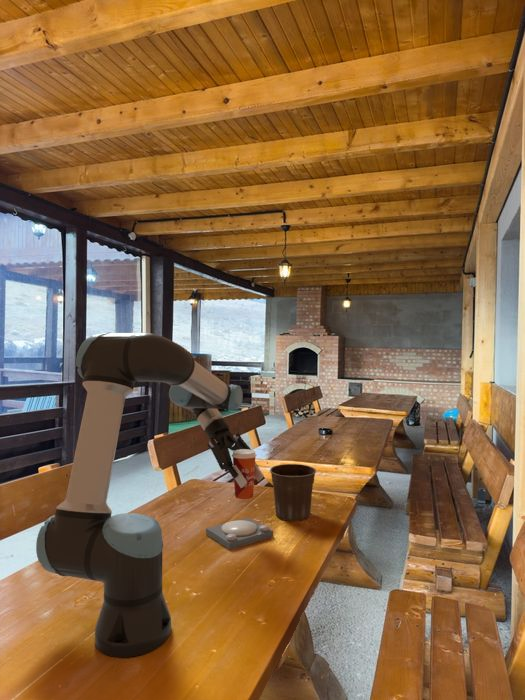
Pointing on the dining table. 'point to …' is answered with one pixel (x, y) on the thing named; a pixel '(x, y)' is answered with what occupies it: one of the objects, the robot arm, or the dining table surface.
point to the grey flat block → (239, 533)
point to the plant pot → (293, 490)
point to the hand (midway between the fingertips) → (252, 481)
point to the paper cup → (244, 472)
